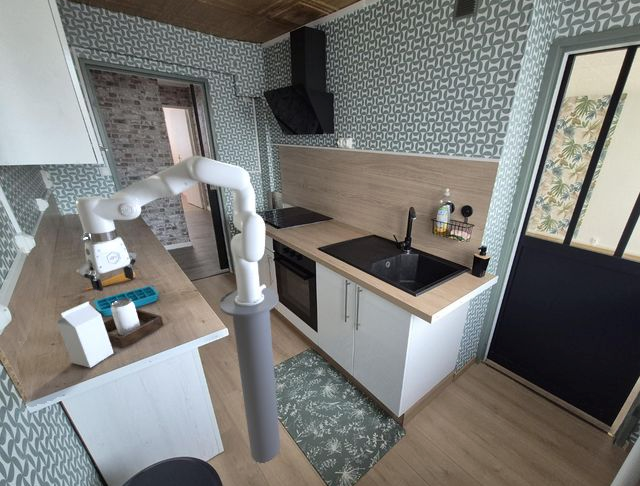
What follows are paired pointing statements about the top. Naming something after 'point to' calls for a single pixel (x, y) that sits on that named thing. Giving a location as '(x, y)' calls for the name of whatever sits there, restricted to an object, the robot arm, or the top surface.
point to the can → (125, 316)
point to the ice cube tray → (137, 297)
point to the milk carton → (84, 335)
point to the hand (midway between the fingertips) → (115, 283)
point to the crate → (127, 339)
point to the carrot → (114, 280)
